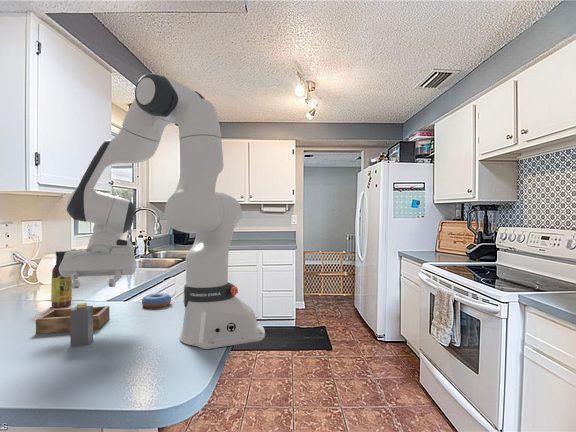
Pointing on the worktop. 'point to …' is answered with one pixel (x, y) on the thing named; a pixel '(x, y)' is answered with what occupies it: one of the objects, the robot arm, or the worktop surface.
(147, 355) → the worktop surface
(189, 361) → the worktop surface
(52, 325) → the caddy
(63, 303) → the sauce bottle
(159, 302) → the doughnut
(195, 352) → the worktop surface
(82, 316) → the push button
